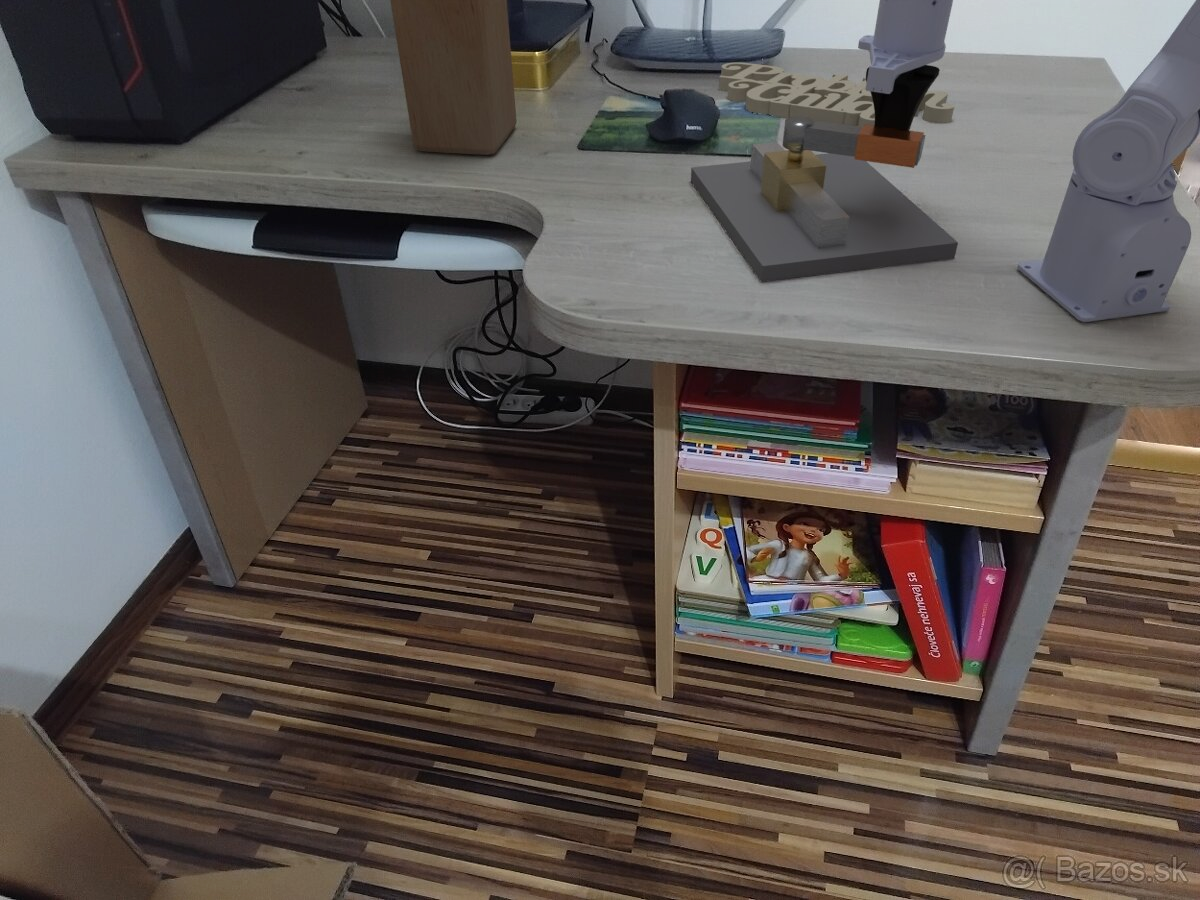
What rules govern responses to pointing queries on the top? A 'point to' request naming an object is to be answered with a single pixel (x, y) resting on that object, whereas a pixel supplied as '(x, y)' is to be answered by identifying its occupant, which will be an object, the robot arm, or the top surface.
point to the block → (456, 73)
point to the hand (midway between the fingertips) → (887, 151)
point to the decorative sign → (814, 96)
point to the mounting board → (782, 250)
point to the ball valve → (800, 192)
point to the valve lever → (855, 141)
